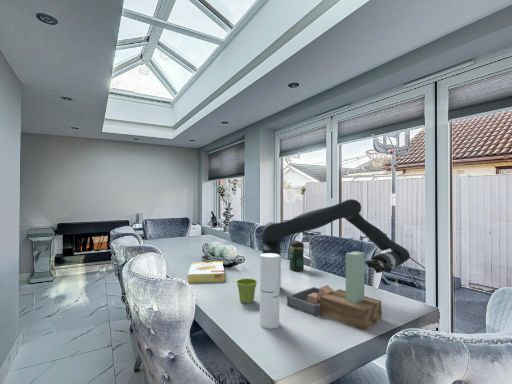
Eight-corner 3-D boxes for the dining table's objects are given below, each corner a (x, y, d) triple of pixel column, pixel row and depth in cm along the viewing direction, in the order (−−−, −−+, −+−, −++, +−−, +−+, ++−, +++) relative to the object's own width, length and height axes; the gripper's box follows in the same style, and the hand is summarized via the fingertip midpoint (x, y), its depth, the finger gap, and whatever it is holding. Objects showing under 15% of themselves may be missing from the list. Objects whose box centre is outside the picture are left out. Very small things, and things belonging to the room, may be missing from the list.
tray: (316, 316, 109) (316, 306, 109) (287, 305, 120) (287, 296, 120) (342, 304, 122) (342, 295, 122) (313, 295, 133) (313, 286, 133)
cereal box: (223, 260, 181) (225, 271, 154) (223, 269, 181) (225, 282, 153) (191, 261, 178) (187, 273, 150) (191, 270, 178) (187, 284, 150)
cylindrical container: (258, 320, 105) (259, 253, 106) (277, 319, 106) (278, 253, 106) (260, 328, 98) (261, 257, 99) (280, 328, 99) (281, 257, 99)
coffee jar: (305, 271, 177) (305, 241, 177) (294, 272, 174) (294, 242, 175) (298, 267, 186) (299, 239, 186) (287, 268, 184) (288, 240, 184)
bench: (364, 331, 97) (364, 310, 97) (320, 314, 110) (320, 296, 111) (381, 319, 107) (381, 300, 107) (339, 305, 120) (339, 289, 120)
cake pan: (202, 268, 182) (202, 261, 182) (198, 260, 206) (199, 254, 206) (239, 266, 189) (239, 259, 189) (231, 258, 213) (231, 252, 213)
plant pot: (241, 306, 118) (241, 285, 119) (232, 299, 127) (233, 280, 127) (260, 302, 123) (261, 283, 123) (251, 296, 131) (251, 277, 131)
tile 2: (327, 293, 114) (320, 287, 116) (322, 302, 115) (316, 296, 117) (333, 290, 117) (327, 285, 119) (329, 299, 118) (322, 294, 121)
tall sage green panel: (355, 304, 104) (355, 255, 104) (345, 301, 106) (345, 253, 107) (364, 299, 108) (364, 252, 109) (354, 296, 111) (354, 251, 112)
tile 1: (307, 295, 120) (307, 303, 120) (317, 298, 117) (317, 306, 117) (314, 292, 124) (314, 300, 124) (324, 295, 120) (324, 303, 120)
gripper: (367, 251, 130) (349, 256, 119) (400, 256, 119) (383, 262, 108) (367, 267, 130) (349, 274, 119) (400, 273, 119) (384, 281, 108)
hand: (366, 268), depth 113 cm, fingers open, 8 cm apart
